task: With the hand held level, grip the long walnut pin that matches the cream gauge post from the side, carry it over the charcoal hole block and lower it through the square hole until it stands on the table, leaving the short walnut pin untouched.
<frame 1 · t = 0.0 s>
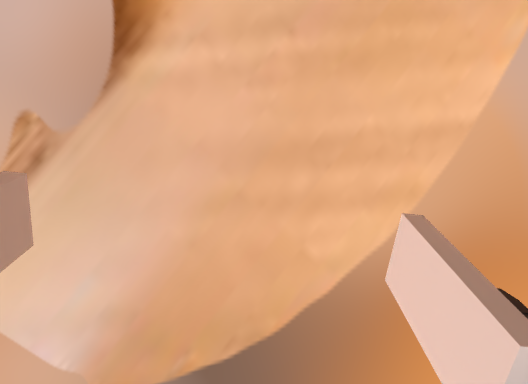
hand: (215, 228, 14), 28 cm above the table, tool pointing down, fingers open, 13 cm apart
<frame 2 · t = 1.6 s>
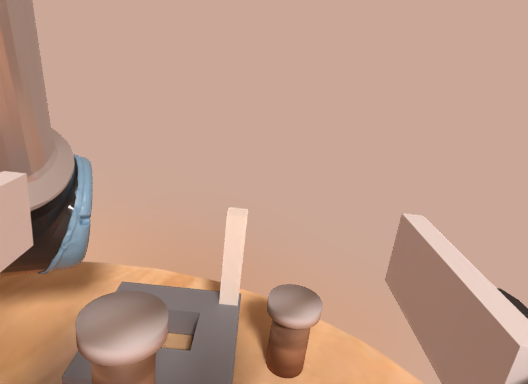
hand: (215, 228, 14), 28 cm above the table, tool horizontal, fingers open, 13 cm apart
hole block: (166, 351, 45), on the table
short pin: (284, 363, 45), on the table
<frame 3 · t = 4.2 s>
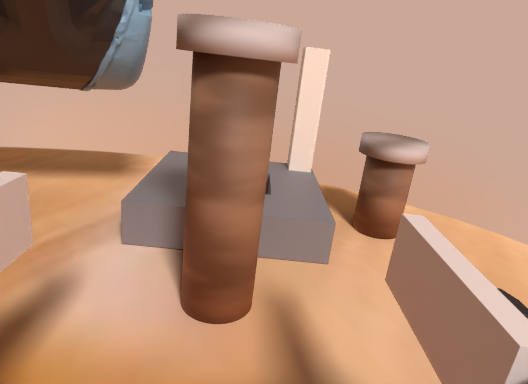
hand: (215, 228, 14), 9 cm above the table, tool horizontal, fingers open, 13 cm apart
long pin: (216, 300, 24), on the table
hole block: (233, 213, 37), on the table
short pin: (374, 228, 38), on the table
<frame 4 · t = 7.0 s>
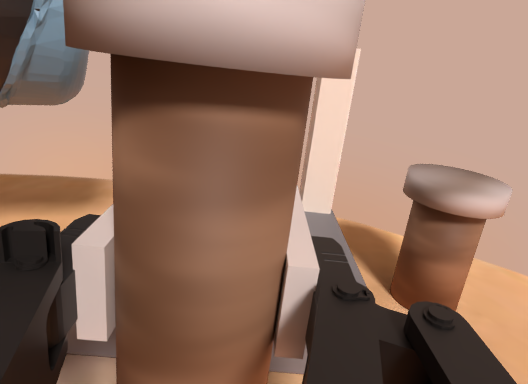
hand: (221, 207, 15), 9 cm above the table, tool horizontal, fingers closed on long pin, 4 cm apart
hole block: (225, 278, 27), on the table
short pin: (422, 298, 27), on the table
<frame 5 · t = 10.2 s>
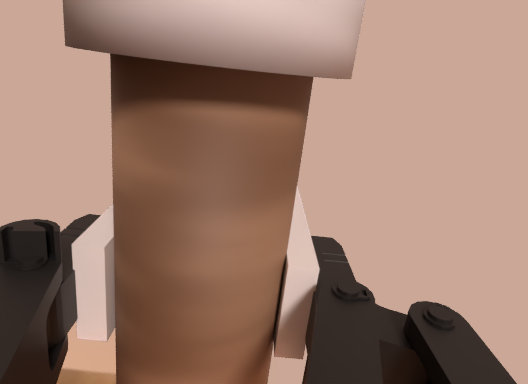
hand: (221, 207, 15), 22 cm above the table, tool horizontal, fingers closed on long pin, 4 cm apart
when the fingers open (10 cm above the table, at t = 13.4 s): long pin stays where it is, resting in hole block.
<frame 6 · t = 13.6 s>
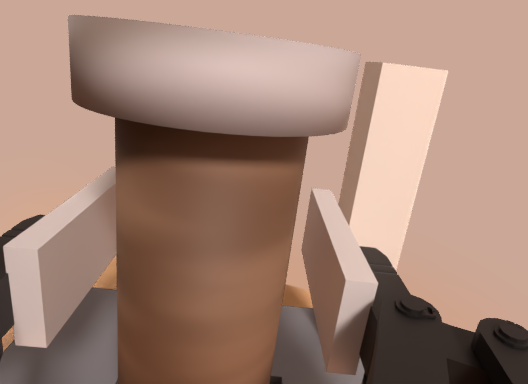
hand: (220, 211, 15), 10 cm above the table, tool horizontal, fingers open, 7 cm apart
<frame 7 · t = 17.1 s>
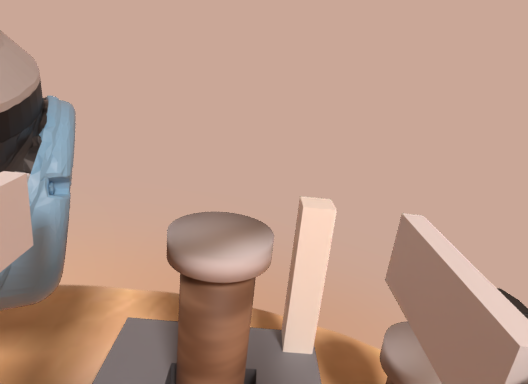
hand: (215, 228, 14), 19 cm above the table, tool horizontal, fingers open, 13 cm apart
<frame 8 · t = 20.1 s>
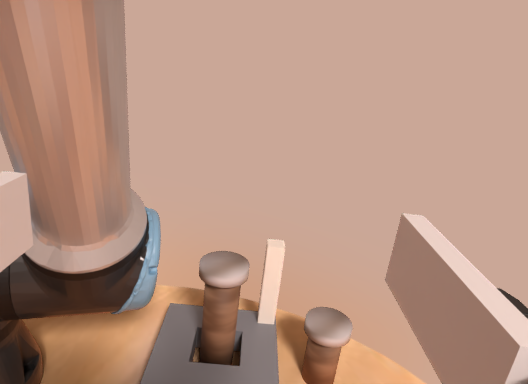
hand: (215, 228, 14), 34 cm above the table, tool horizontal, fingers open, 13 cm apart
long pin: (215, 366, 52), resting in hole block
hole block: (215, 366, 52), on the table
short pin: (317, 375, 52), on the table
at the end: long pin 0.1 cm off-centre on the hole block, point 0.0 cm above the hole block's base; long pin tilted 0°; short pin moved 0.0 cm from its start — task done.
